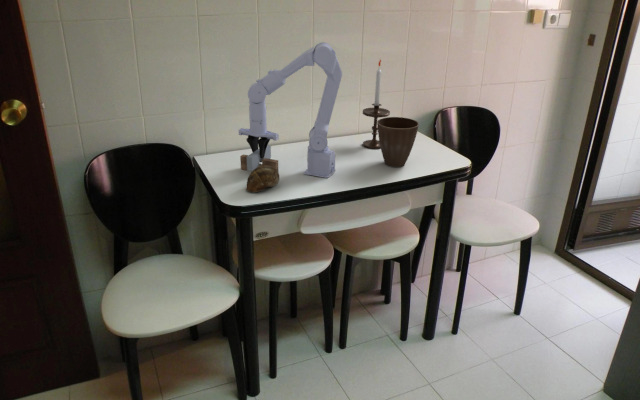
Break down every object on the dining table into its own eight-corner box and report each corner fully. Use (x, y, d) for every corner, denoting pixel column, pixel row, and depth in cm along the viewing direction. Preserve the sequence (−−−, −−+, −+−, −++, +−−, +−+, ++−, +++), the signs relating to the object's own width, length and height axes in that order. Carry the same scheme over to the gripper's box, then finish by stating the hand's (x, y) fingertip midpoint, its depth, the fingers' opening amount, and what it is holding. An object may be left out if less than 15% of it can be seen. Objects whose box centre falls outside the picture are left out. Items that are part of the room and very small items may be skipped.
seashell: (276, 181, 175) (275, 159, 171) (282, 192, 166) (282, 169, 163) (243, 184, 171) (242, 162, 168) (248, 195, 163) (247, 172, 160)
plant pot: (382, 172, 184) (385, 129, 177) (369, 158, 197) (371, 117, 190) (420, 169, 187) (425, 127, 180) (405, 155, 200) (409, 115, 193)
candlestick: (388, 150, 206) (395, 61, 191) (361, 149, 206) (366, 60, 191) (385, 141, 215) (392, 56, 201) (359, 140, 215) (364, 55, 201)
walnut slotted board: (278, 173, 181) (278, 160, 179) (276, 175, 179) (275, 162, 177) (243, 167, 185) (243, 154, 183) (240, 169, 184) (240, 156, 181)
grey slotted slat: (266, 157, 187) (265, 144, 185) (270, 158, 187) (270, 145, 184) (247, 170, 175) (246, 156, 173) (252, 171, 175) (251, 157, 173)
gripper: (282, 118, 175) (282, 156, 181) (245, 113, 180) (246, 150, 186) (273, 124, 169) (273, 162, 175) (234, 118, 174) (236, 156, 180)
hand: (259, 156), depth 180 cm, fingers closed on grey slotted slat, 2 cm apart
